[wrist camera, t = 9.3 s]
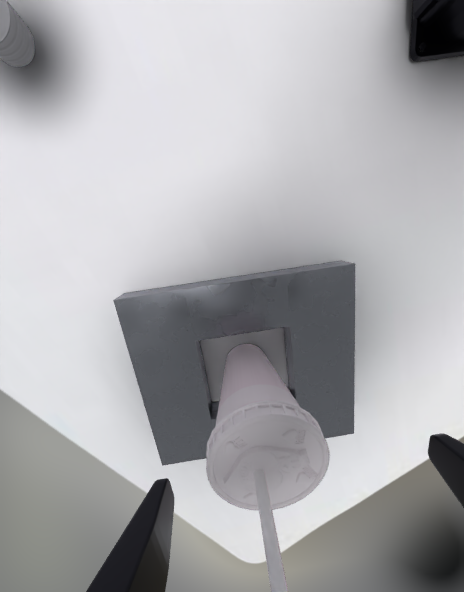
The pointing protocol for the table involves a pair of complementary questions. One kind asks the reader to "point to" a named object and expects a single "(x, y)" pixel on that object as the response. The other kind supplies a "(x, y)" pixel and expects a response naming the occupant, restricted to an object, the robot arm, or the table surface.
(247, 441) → the smoothie
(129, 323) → the square plate with hole
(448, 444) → the robot arm
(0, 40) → the lightbulb
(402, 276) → the table surface
